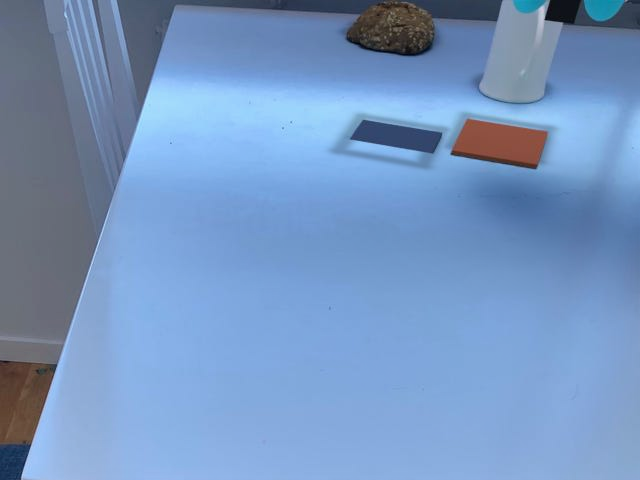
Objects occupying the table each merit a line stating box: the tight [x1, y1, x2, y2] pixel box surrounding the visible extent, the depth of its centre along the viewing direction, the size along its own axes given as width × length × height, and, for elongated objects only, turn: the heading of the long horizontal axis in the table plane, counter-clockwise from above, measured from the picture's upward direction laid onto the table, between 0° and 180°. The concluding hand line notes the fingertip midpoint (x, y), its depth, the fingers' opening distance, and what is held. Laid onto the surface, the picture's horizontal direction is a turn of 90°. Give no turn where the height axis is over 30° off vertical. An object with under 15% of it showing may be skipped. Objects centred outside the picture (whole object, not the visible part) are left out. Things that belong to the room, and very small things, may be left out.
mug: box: [478, 0, 564, 104], centre depth 121 cm, size 12×8×12 cm
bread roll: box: [345, 0, 436, 55], centre depth 138 cm, size 13×12×5 cm
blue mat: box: [349, 119, 443, 154], centre depth 113 cm, size 10×12×1 cm
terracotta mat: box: [450, 118, 549, 170], centre depth 114 cm, size 10×11×1 cm
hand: (564, 5), depth 92 cm, fingers closed on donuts, 10 cm apart
